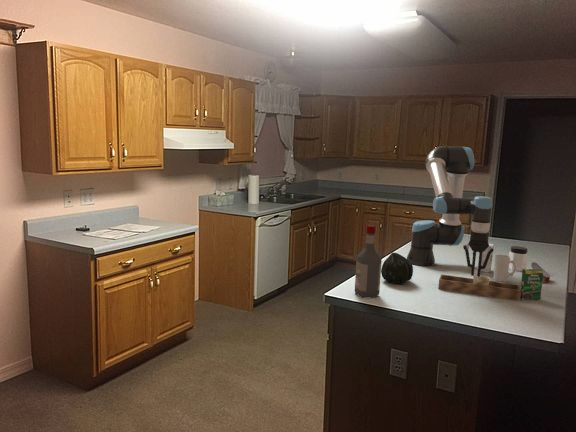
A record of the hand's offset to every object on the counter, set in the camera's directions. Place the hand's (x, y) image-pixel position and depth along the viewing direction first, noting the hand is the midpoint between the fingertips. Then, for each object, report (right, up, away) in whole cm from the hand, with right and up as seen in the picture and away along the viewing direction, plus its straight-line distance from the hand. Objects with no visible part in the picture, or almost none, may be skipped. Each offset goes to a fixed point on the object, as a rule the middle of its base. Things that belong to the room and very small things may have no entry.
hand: (474, 282), depth 217 cm
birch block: (+3, -2, -1) cm, 4 cm away
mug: (+22, -2, +20) cm, 30 cm away
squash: (-33, -1, +11) cm, 35 cm away
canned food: (+41, -2, +24) cm, 47 cm away
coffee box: (+21, -6, -7) cm, 23 cm away
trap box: (+2, -4, 0) cm, 4 cm away
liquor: (-50, -4, -10) cm, 51 cm away
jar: (+40, +1, +43) cm, 59 cm away
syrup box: (+20, +1, +38) cm, 42 cm away
